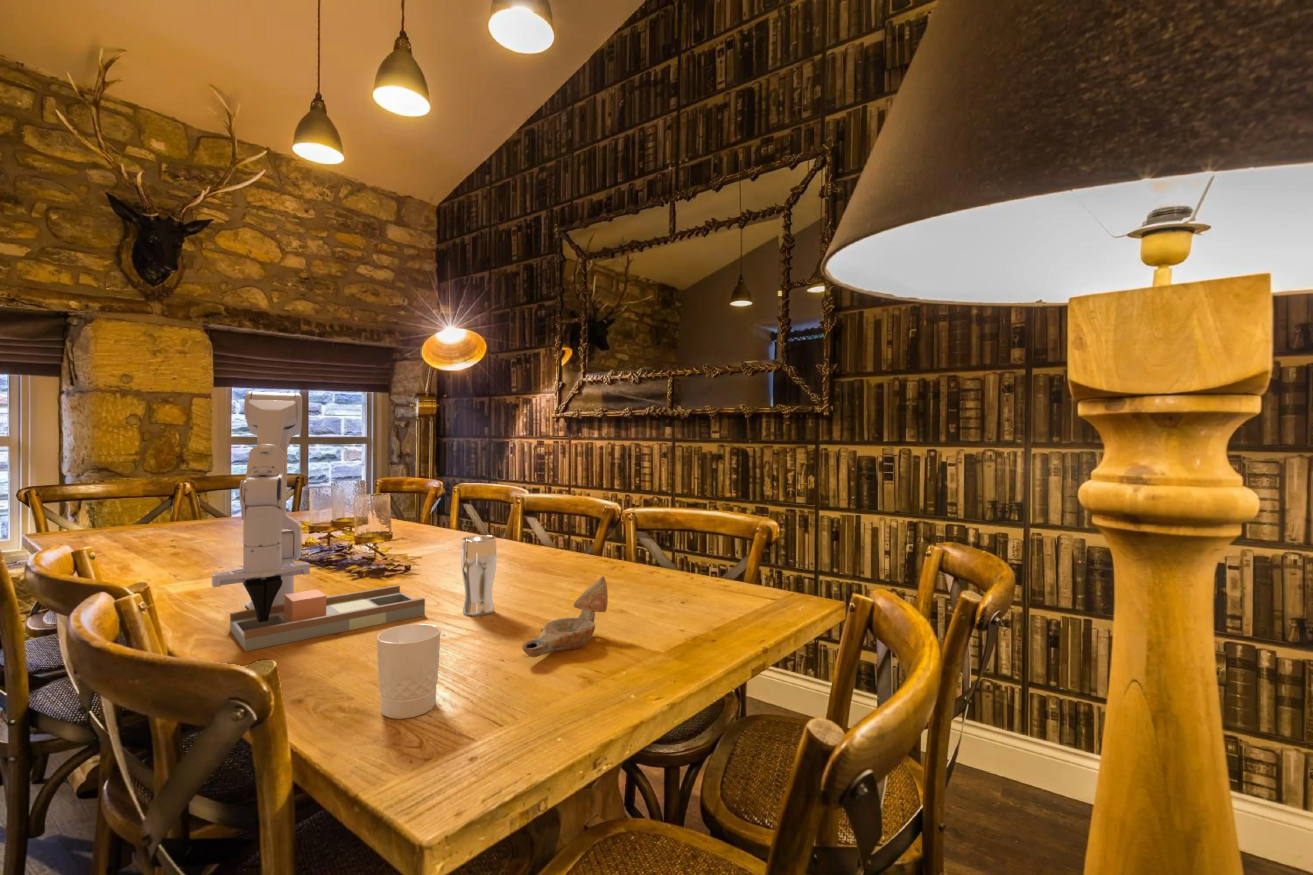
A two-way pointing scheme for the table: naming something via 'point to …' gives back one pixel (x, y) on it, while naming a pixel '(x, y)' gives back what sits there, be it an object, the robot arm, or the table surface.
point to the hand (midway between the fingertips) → (262, 620)
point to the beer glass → (478, 573)
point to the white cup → (408, 669)
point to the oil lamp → (571, 624)
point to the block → (304, 605)
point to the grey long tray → (326, 617)
